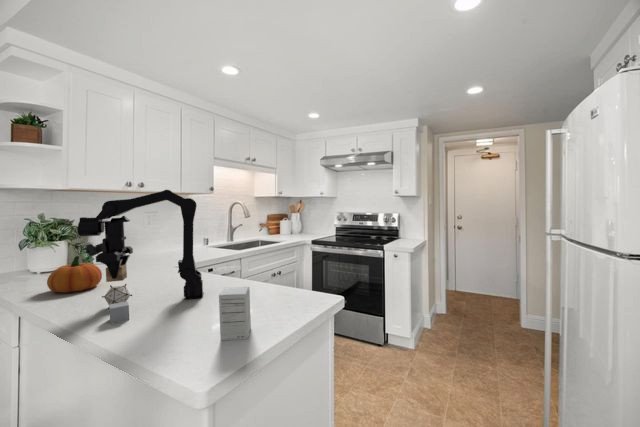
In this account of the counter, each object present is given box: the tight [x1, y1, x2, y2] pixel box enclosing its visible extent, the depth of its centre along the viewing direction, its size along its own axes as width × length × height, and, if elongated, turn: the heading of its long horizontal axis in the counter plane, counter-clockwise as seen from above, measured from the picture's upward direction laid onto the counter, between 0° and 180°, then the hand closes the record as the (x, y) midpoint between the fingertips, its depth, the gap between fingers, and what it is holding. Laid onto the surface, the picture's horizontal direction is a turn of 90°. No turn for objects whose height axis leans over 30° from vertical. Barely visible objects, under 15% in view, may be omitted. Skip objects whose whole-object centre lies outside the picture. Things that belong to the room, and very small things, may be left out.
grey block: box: [108, 300, 130, 325], centre depth 96 cm, size 5×5×5 cm
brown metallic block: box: [105, 263, 128, 283], centre depth 108 cm, size 5×5×5 cm
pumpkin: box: [46, 255, 103, 294], centre depth 133 cm, size 19×19×15 cm
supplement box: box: [218, 286, 252, 341], centre depth 83 cm, size 7×7×13 cm
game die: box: [101, 283, 133, 309], centre depth 108 cm, size 9×8×10 cm
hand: (116, 276), depth 108 cm, fingers closed on brown metallic block, 5 cm apart
